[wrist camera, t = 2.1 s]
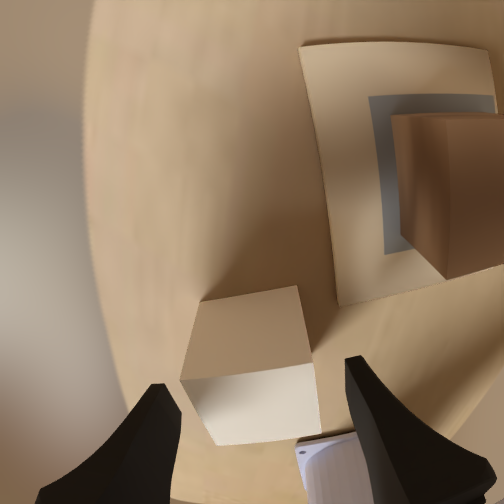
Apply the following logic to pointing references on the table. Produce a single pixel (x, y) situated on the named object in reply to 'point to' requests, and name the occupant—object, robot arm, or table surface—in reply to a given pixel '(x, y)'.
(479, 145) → the walnut base block
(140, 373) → the table surface
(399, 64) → the build board
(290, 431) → the off-white top block
